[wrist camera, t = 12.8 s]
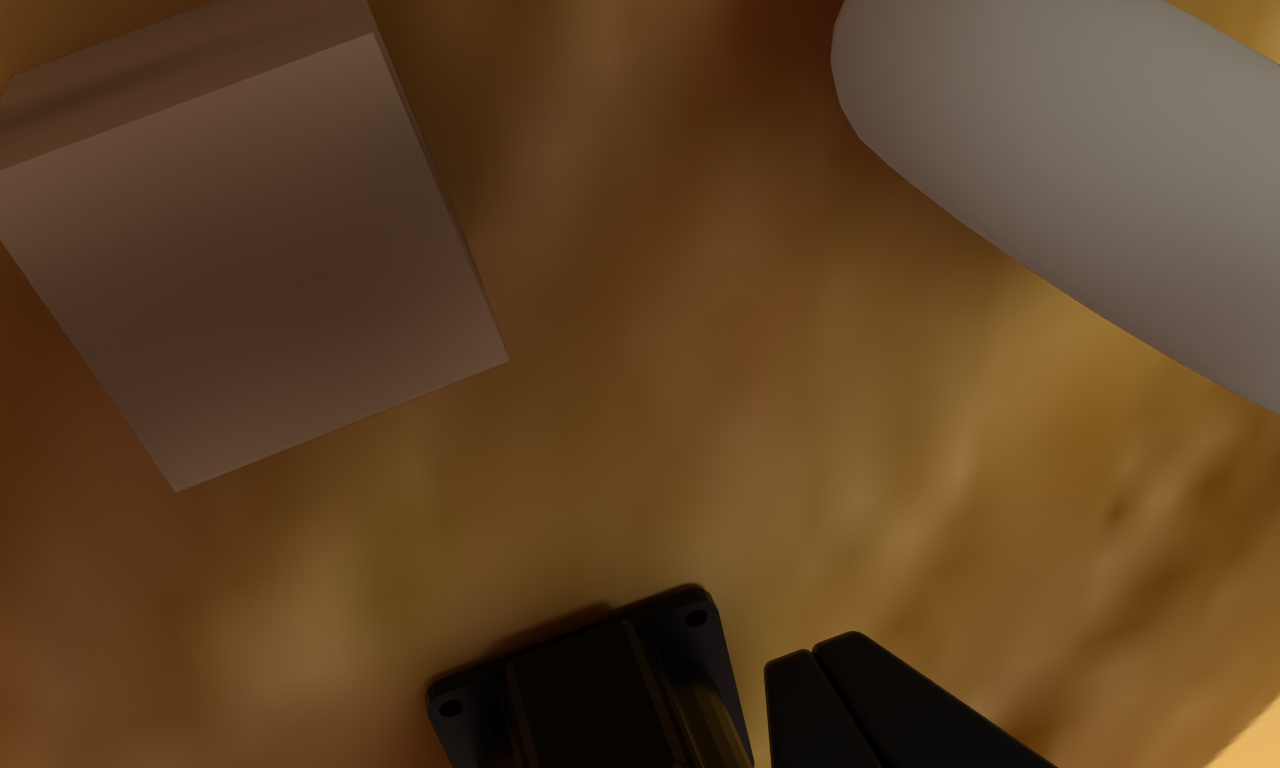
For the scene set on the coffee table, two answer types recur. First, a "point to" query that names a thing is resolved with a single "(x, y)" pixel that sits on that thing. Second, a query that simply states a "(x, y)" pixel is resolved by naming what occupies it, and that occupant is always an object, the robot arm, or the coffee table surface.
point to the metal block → (241, 229)
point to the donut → (1092, 157)
